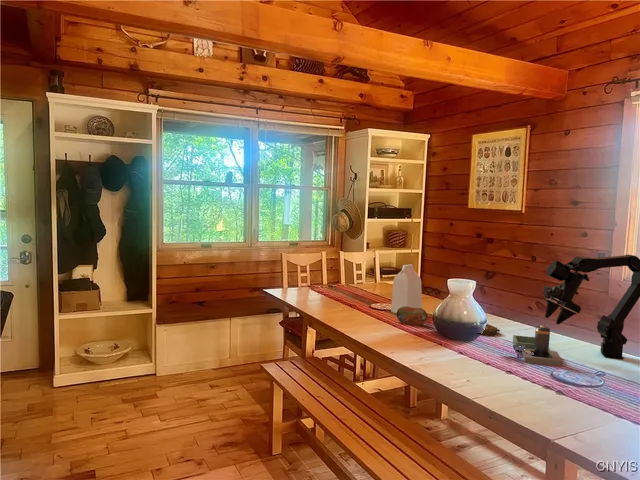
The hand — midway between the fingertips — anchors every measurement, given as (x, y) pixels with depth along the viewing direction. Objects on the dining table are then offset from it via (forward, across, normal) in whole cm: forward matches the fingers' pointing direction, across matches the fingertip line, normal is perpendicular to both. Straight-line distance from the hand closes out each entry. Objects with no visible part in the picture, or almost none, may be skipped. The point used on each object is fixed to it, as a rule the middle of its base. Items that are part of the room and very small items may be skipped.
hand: (551, 320), depth 179 cm
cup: (+15, -7, 0) cm, 16 cm away
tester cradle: (+15, +6, 0) cm, 16 cm away
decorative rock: (+20, -30, -10) cm, 37 cm away
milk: (+33, -61, -38) cm, 79 cm away
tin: (+33, -39, -39) cm, 64 cm away
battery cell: (+15, +6, 0) cm, 16 cm away
